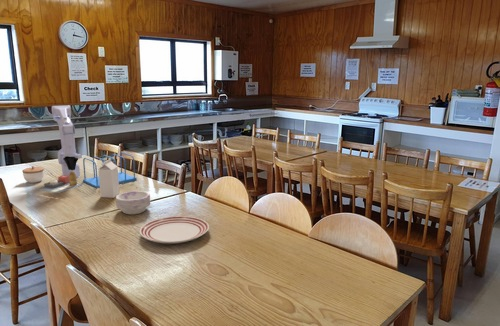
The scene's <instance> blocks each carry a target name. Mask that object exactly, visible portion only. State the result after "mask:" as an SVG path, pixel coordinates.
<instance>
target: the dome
mask: <svg viewBox="0 0 500 326" xmlns="http://www.w3.org/2000/svg"><path fill="white" fill-rule="evenodd" d="M58 181H59V179H58V180H57V179H53V180H49V182H50V184H56V183H58Z"/></svg>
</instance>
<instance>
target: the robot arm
mask: <svg viewBox="0 0 500 326" xmlns="http://www.w3.org/2000/svg"><path fill="white" fill-rule="evenodd" d="M71 109H72V108H71V105H69V104H68V105H52V106H51V113H52V114H51V115H52V119H53V121H54V122H56V123H57V125H58V130H59V136H60V137H59V138H60V144H61V149H59V150H58V151H57V162H58V164H59V165H60V166H61V173H62V175H69V174H70V172H72V171H73V172H75V174H76V179H77V178H79V177H82V176H81V170H80V165H79V164H78V163H77V162H79V161H78V160H79V159H83V157H82V154H80V153H77V151H76V140H75V134H76V128H75V125H74V123H73V122H72V120H71V117H72V116H71V115H72V110H71ZM62 175H61V176H62Z"/></svg>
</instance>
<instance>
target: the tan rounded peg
mask: <svg viewBox="0 0 500 326" xmlns="http://www.w3.org/2000/svg"><path fill="white" fill-rule="evenodd" d="M69 180H70V185H71V186H74V185H77V183H78V182H77V178H76V174H75V172H73V171H72V172H70V174H69Z"/></svg>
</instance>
